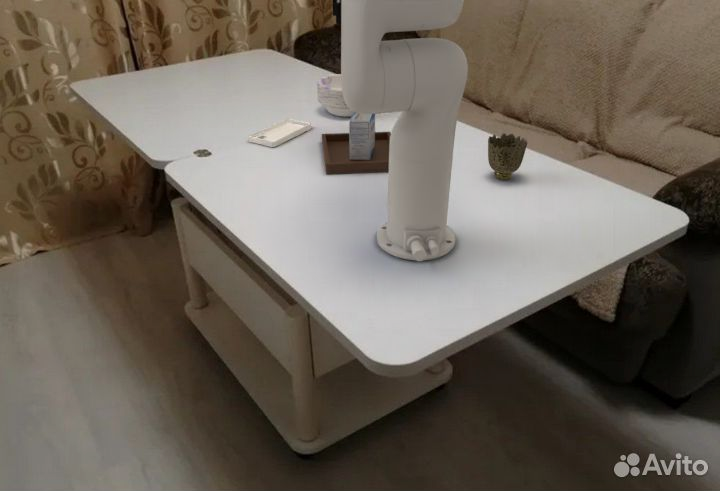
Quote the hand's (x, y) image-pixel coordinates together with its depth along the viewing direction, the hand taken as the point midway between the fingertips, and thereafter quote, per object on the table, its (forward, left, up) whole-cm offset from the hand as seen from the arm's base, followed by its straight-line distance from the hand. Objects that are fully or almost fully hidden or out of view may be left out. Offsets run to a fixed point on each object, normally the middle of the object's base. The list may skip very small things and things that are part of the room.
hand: (342, 19), depth 121 cm
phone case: (+6, +14, -27) cm, 31 cm away
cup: (-23, -30, -27) cm, 46 cm away
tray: (-9, -3, -26) cm, 28 cm away
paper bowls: (+22, -3, -27) cm, 35 cm away
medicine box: (-9, -3, -26) cm, 28 cm away
